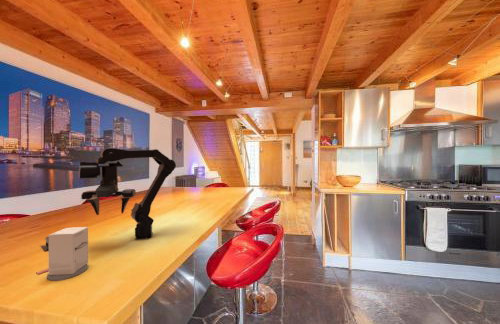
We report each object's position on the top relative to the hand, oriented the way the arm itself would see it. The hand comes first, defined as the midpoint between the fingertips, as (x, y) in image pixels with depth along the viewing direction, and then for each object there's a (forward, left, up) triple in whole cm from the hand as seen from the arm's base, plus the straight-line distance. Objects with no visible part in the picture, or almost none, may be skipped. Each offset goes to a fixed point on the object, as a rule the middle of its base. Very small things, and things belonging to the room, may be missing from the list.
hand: (110, 214), depth 91 cm
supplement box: (+5, +21, -13) cm, 25 cm away
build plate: (+23, -5, -14) cm, 27 cm away
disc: (+5, +22, -13) cm, 26 cm away
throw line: (+10, +17, -13) cm, 24 cm away
